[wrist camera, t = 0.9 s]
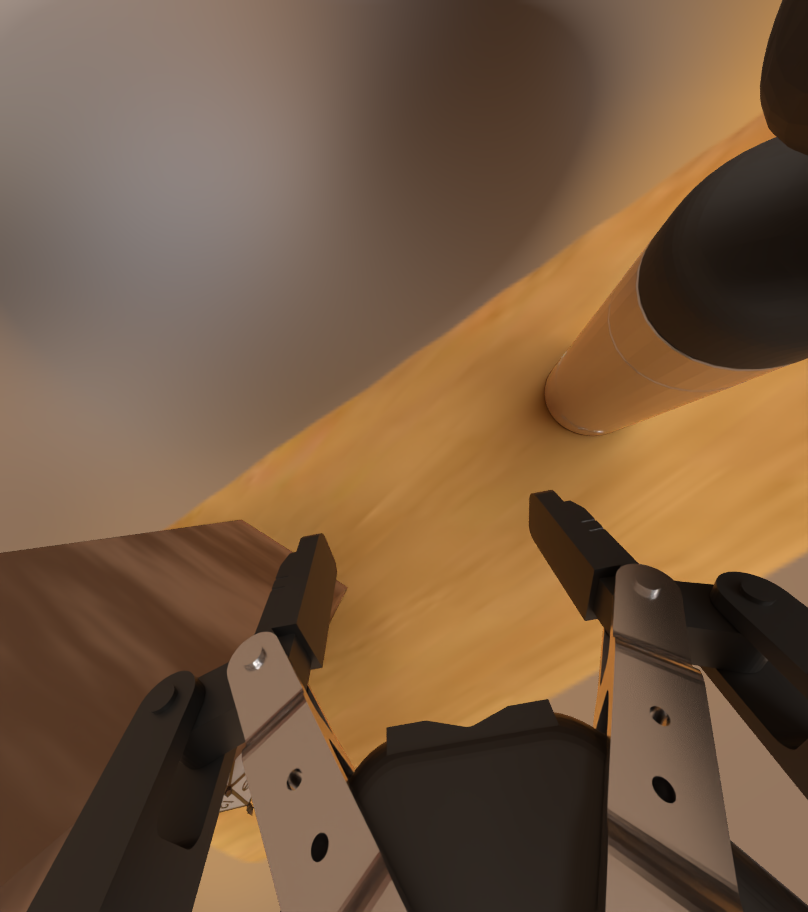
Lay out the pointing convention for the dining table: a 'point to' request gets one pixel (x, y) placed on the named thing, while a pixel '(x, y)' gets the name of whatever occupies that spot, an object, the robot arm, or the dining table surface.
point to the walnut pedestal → (106, 662)
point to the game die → (237, 789)
